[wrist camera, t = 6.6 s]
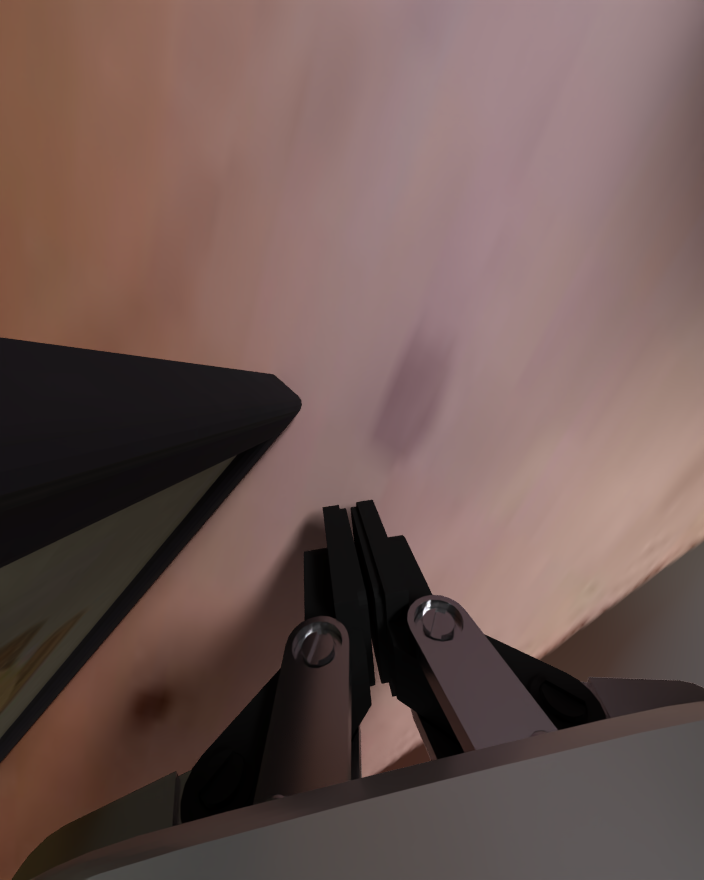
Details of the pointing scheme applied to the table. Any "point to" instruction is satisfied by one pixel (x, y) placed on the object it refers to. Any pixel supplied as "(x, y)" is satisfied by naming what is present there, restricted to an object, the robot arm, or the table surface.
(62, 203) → the table surface
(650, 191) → the table surface
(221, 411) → the picture frame
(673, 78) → the table surface
